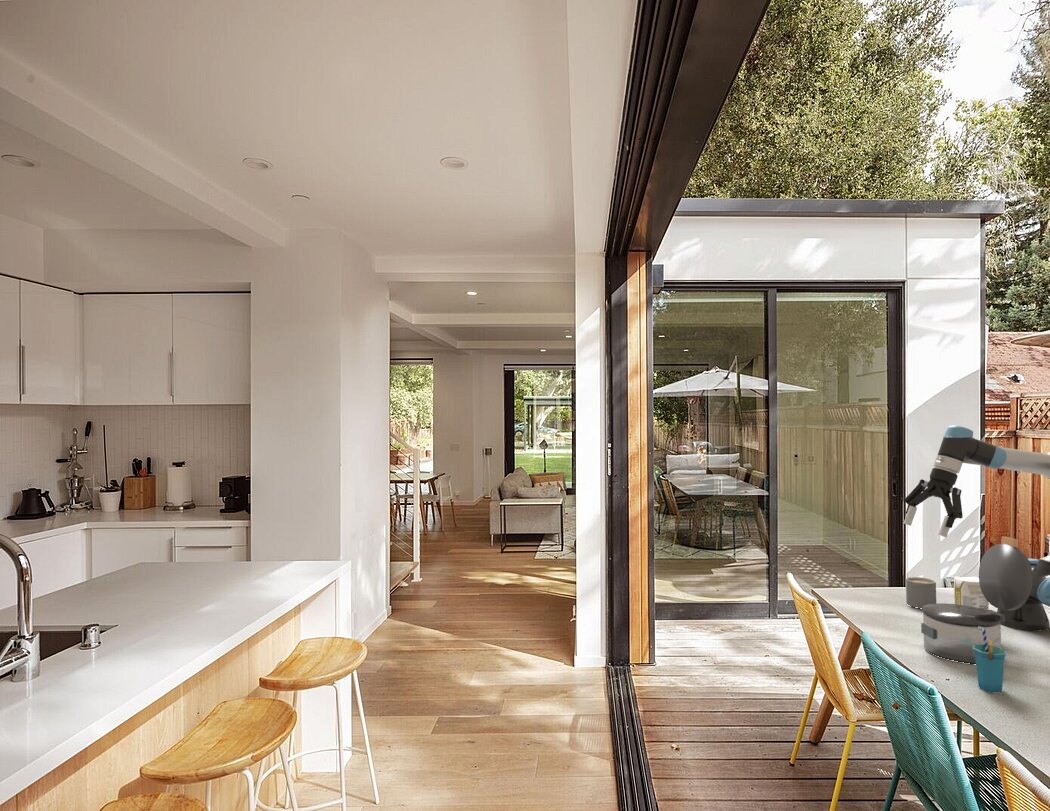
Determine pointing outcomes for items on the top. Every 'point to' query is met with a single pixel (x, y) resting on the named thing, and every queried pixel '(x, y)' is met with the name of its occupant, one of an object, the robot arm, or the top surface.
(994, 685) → the cup
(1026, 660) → the top surface
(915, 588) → the coffee mug
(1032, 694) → the top surface
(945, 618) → the cooker
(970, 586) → the juice carton
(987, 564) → the cooker lid
